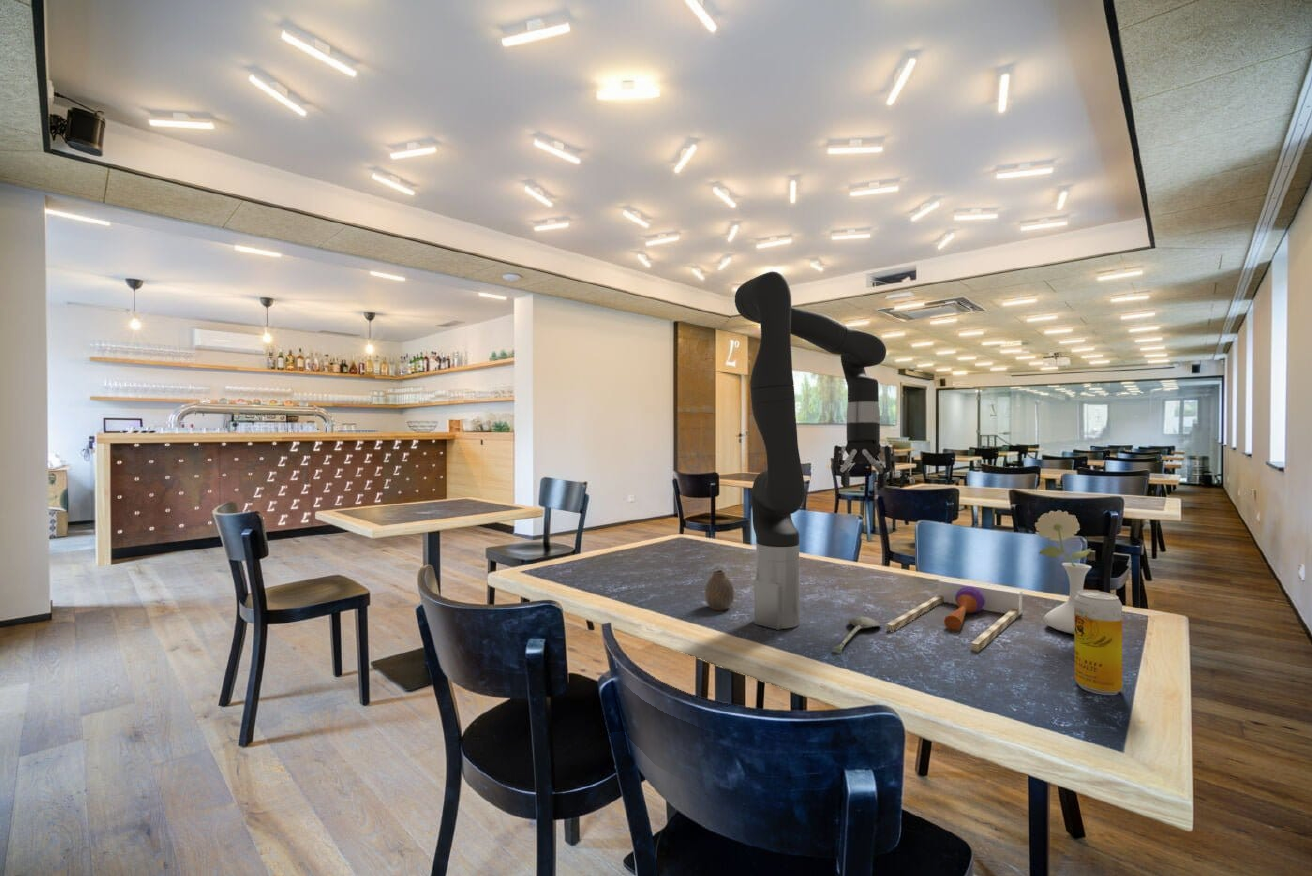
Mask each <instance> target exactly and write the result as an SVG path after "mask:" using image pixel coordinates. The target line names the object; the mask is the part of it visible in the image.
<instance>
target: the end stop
mask: <svg viewBox="0 0 1312 876" xmlns="http://www.w3.org/2000/svg"><path fill="white" fill-rule="evenodd" d="M937 582H938V583H937V584H938V587H937V588H938V591H937V592H938V593H937V596H938V595H941V596H944V602H943V603H946V602H949V603H948V604H951V603H954V604H953V605H957V603H956V600H955V595H956V593H957V591H958V590H959V589H961V588H962V587H966V586H970V587H974V588H976V589H978V590H979V591H980V592H981V593H982V594H983V596H984V598H985V604H984V606H983V608H982V609H981V610H984V611H991V612H995V613H1002V614H1006V613H1008V612H1009V611H1010V610H1011V609H1012V608H1015V609H1019V616H1021V615H1022V614H1023V591H1021V590H1016V589H1010V588H1003V587H998V586H990V585H984V584H979V583H973V582H972V583H971V582H965V581H959V580H953V579H947V578H941V579H940V580H938V581H937ZM1021 613H1022V614H1021Z"/></svg>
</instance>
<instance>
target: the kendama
mask: <svg viewBox="0 0 1312 876" xmlns="http://www.w3.org/2000/svg"><path fill="white" fill-rule="evenodd" d="M955 600H956V603H957V604H956V605H957V607H958V608H957V609H956V610H954V611H953V612H951V613H949V614H948V615H947V616H946V617H945V619H943V620H944V626H945V627H946V628H947V629H948V628H949V629H948V630H951V629H954V630H953V631H956V630H958V631H960V630H961V629H962V627H963V622H964V619H965V615H966V614H975V613H974V612H976V613H979V612H980V611H981V610H983V609H982V608H983V606H984V604H985V598H984V596H983V594H982V593H981V592H980V591H979V590H978V589H976V588H974V587H970V586H966V587H962V588H961V589H959V590H958V591H957V593H956V595H955Z"/></svg>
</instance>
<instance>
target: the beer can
mask: <svg viewBox="0 0 1312 876" xmlns="http://www.w3.org/2000/svg"><path fill="white" fill-rule="evenodd" d="M1073 635H1074V636H1073V637H1074V640H1073V641H1074V646H1073V647H1074V656H1073V657H1074V663H1073V664H1074V669H1073V670H1074V680H1075V681H1076V683H1077V684H1078V686H1079V687H1080V688H1081V689H1083V690H1085V691H1087V692H1090V693H1092V694H1093V693H1094V694H1098V695H1102V696H1116V695H1118V694H1119V692H1120V691H1122V690H1123V604H1122V602H1121V600H1120V597H1119V596H1118V595H1116V594H1114V593H1113V594H1112V593H1110V592H1104V591H1098V590H1083V591H1078V592H1077V595H1076V597H1075V598H1074V634H1073Z"/></svg>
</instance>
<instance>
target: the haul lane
mask: <svg viewBox="0 0 1312 876" xmlns="http://www.w3.org/2000/svg"><path fill="white" fill-rule="evenodd" d="M943 601H944V596H941V595H938V594H937V595H935V596H934V597H933V598H930V599H929V600H926V601H924V602H923V603H922V604H920V605H917V606H916V607H915V608H913V609H911V610H909V611H907V612H905V613H903V614H902V615H900V616H898V617H897V618H895V619H894V620H891V621H890V622H888V623H886V631H887V630H888V631H887V632H889V631H892V632H891V633H894V632H895V631H894V630H896V629H898V628H899V627H901V628H903V627H904V626H906V625H907V623H908V624H909V623H910V622H911V623H912V620H913V621H914V620H916V619H918V618H919V617H921V616H922V614H923V613H924V612H926V613H928V612H929V611H931V610H933V609H934V608H936V607H938V606H939V605H941V604H943V603H944V602H943ZM942 602H943V603H942ZM940 603H941V604H940ZM938 604H939V605H938ZM937 605H938V606H937ZM935 606H936V607H935ZM933 607H934V608H933ZM932 608H933V609H932ZM930 609H931V610H930ZM927 611H928V612H927ZM924 614H925V613H924ZM924 614H923V615H924ZM920 615H921V616H920ZM918 616H919V617H918ZM917 617H918V618H917ZM1018 617H1020V615H1019V609H1015V608H1012V609H1011V610H1010V611H1009V612H1008V613H1004V615H1003V616H1001V617H1000V618H999V619H997V621H995V622H994V623H993V624H992V625H990V627H988V628H987V629H986V630H984V631H983V632H982V633H981V634H980V635H978V636H977V637H976V638H975V639H974V640H972V641H971V642H970V646H971V647H970V649H971V650H970V651H972V652H975V653H979V652H980V651H981V650H983V649H984V648H985V647H986V646H987V645H988V644H990V642H992V641H993V640H994V639H995V638H996V637H997V636H998V635H999V634H1000V633H1002V632H1003V631H1004V630H1005V629H1007V628H1008V626H1009V625H1010V624H1012V623H1013V622H1014V621H1015V620H1016V619H1017V618H1018ZM915 618H916V619H915ZM902 626H903V627H902ZM899 629H900V628H899ZM899 629H898V630H899ZM893 631H894V632H893ZM896 631H897V630H896Z"/></svg>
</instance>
